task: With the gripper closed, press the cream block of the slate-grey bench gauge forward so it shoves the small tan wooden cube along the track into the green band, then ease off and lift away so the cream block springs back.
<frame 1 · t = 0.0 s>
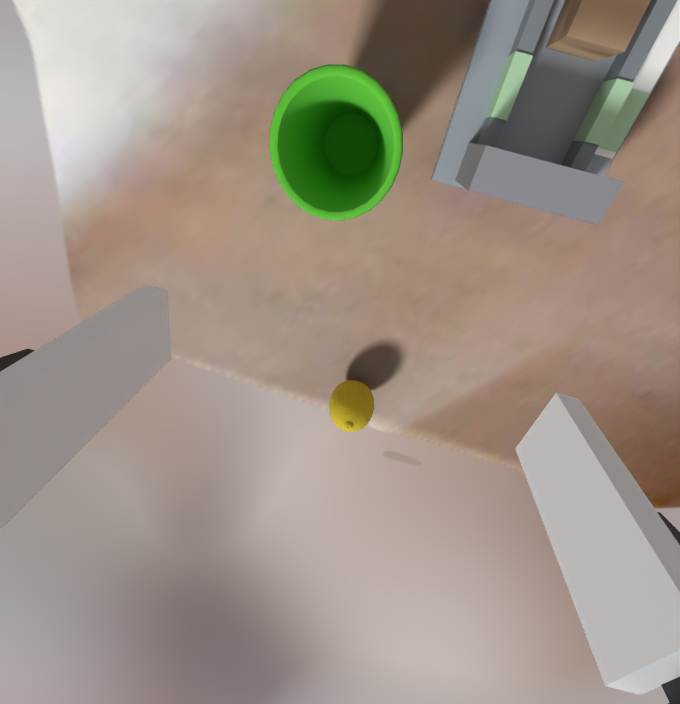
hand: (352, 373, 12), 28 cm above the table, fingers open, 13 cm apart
cup: (351, 145, 33), on the table
tan wooden cube: (586, 20, 26), point 1 cm above the table, touching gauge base
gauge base: (582, 15, 26), on the table
lemon: (355, 384, 48), on the table
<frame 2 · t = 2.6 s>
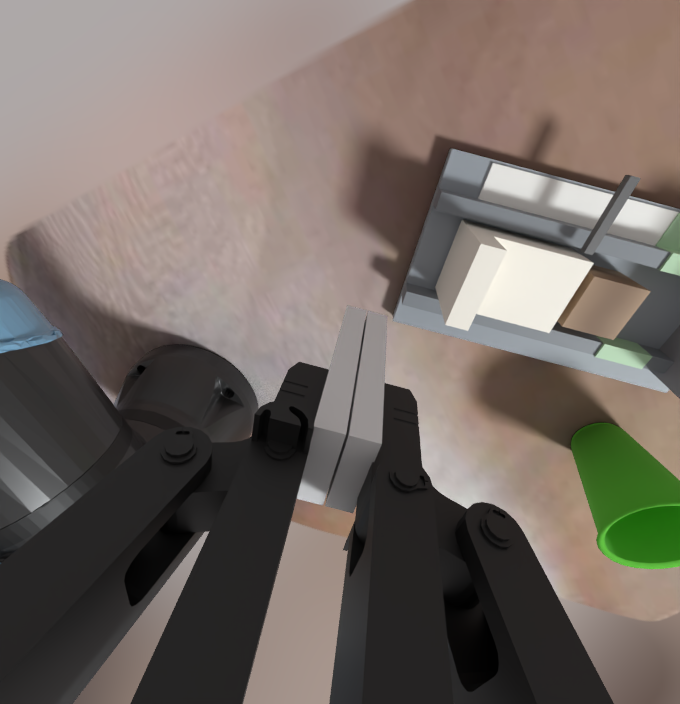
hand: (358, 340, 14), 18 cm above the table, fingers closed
cup: (595, 438, 38), on the table
tan wooden cube: (579, 288, 29), point 1 cm above the table, touching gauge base
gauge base: (567, 281, 30), on the table
cream block: (530, 249, 24), point 5 cm above the table, slide at 0.0 cm
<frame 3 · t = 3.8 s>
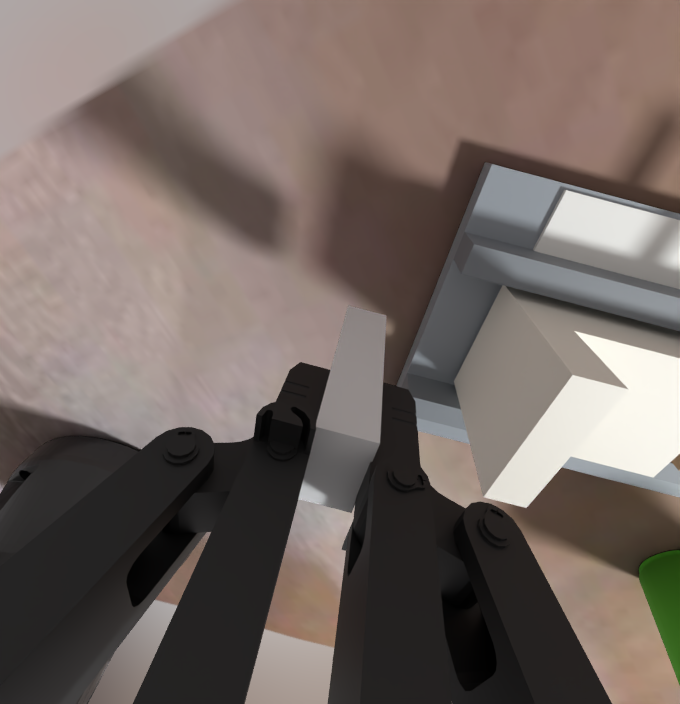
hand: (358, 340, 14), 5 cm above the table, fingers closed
cup: (674, 565, 27), on the table
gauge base: (665, 373, 18), on the table
cream block: (641, 352, 13), point 5 cm above the table, slide at 0.0 cm
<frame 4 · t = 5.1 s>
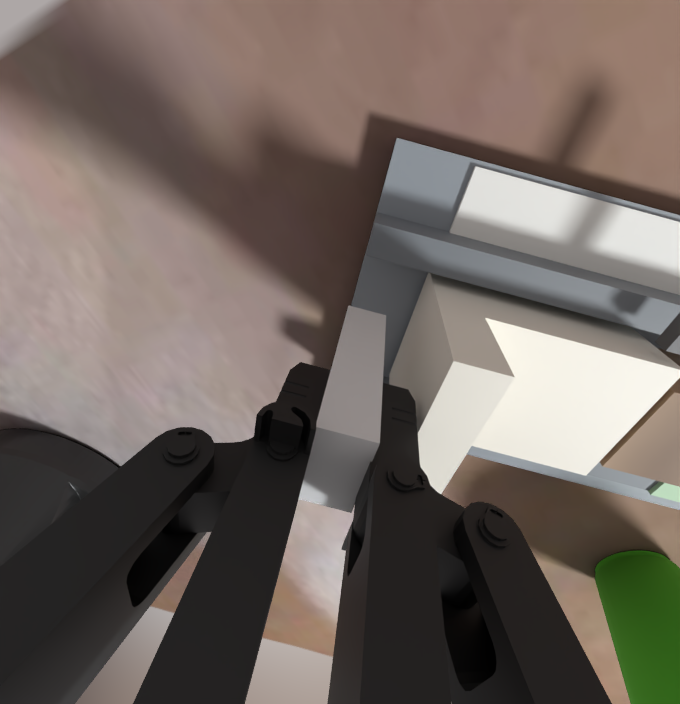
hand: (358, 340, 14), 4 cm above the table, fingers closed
cup: (630, 566, 26), on the table
tan wooden cube: (626, 382, 17), point 1 cm above the table, touching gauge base
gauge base: (603, 365, 18), on the table
cream block: (558, 342, 12), point 5 cm above the table, slide at 0.4 cm, touching gripper
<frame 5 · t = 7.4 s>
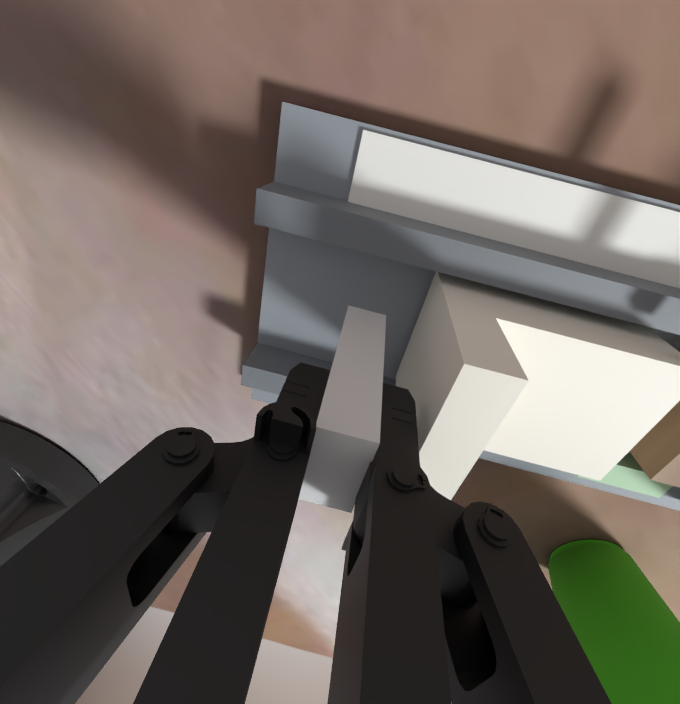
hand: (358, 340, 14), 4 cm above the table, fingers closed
cup: (585, 556, 25), on the table
tan wooden cube: (670, 391, 16), point 1 cm above the table, touching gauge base
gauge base: (530, 343, 17), on the table
cream block: (572, 342, 11), point 5 cm above the table, slide at 4.7 cm, touching gripper
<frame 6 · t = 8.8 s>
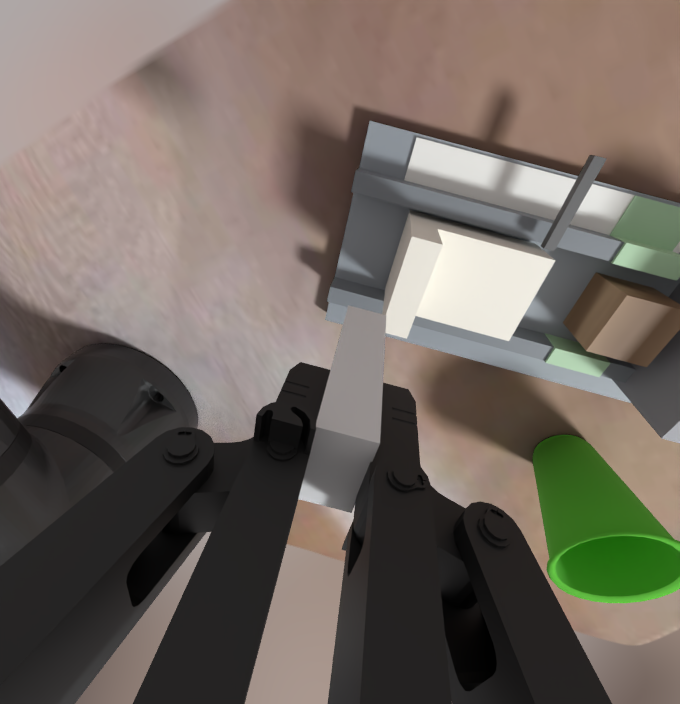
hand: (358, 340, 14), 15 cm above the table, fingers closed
cup: (559, 451, 34), on the table
tan wooden cube: (605, 305, 25), point 1 cm above the table, touching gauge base
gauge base: (516, 277, 26), on the table
cream block: (481, 243, 20), point 5 cm above the table, slide at 1.5 cm
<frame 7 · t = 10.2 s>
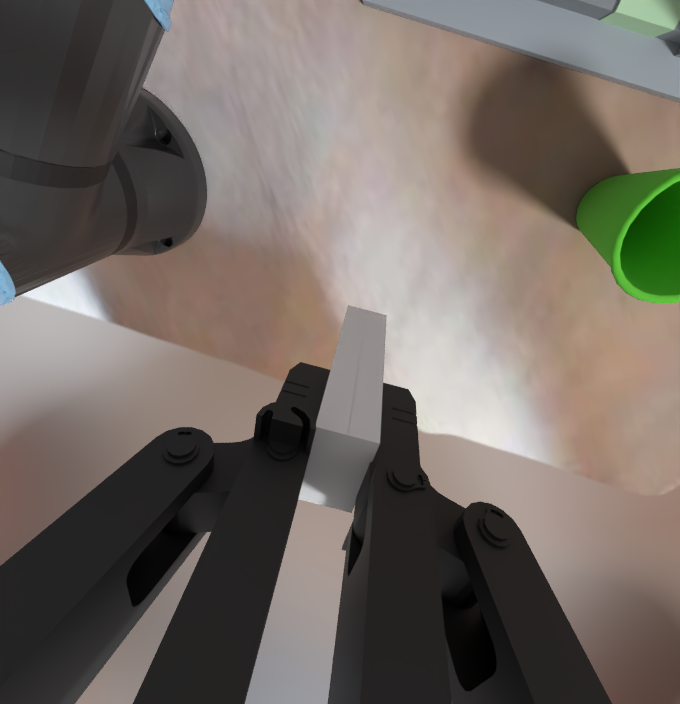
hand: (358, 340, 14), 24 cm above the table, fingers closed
cup: (605, 207, 32), on the table
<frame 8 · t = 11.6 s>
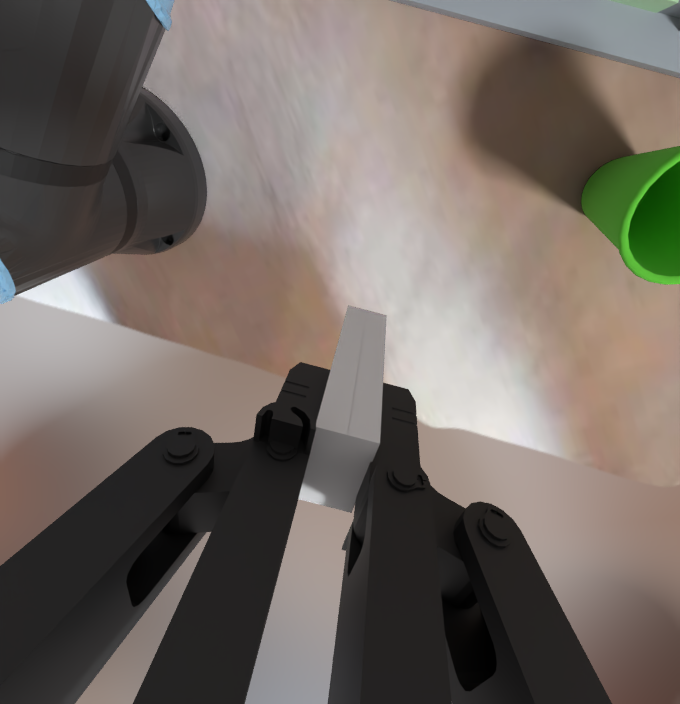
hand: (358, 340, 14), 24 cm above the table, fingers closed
cup: (611, 190, 31), on the table
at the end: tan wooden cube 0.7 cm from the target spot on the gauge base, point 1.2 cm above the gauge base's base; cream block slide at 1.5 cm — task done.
